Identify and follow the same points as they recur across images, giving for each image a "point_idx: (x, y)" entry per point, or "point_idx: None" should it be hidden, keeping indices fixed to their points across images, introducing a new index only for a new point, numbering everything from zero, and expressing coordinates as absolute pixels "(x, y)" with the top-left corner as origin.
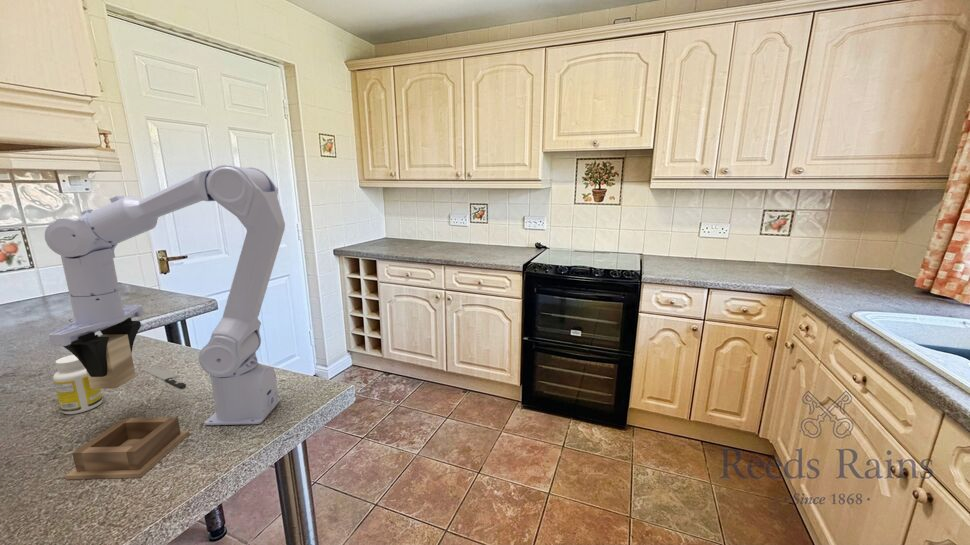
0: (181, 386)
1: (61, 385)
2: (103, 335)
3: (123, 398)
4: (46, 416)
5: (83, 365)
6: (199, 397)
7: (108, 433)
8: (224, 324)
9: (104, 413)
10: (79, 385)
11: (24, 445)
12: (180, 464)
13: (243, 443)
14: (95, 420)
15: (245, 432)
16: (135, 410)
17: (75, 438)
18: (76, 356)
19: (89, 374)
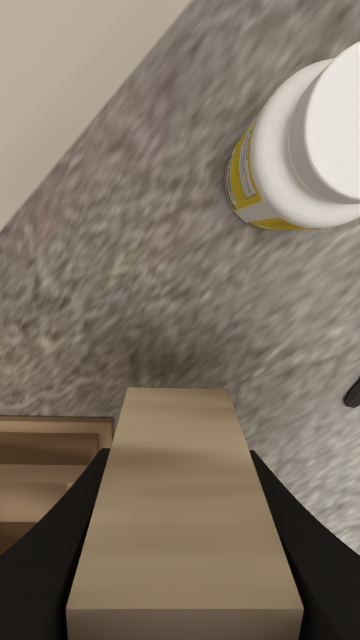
0: (348, 403)
1: (246, 153)
2: (275, 626)
3: (310, 268)
4: (223, 104)
5: (69, 488)
6: (281, 471)
7: (16, 481)
8: None
9: (223, 281)
10: (263, 210)
11: (70, 196)
12: None
13: None
14: (186, 286)
15: None
16: (230, 356)
17: (101, 306)
18: (19, 543)
19: (96, 455)
